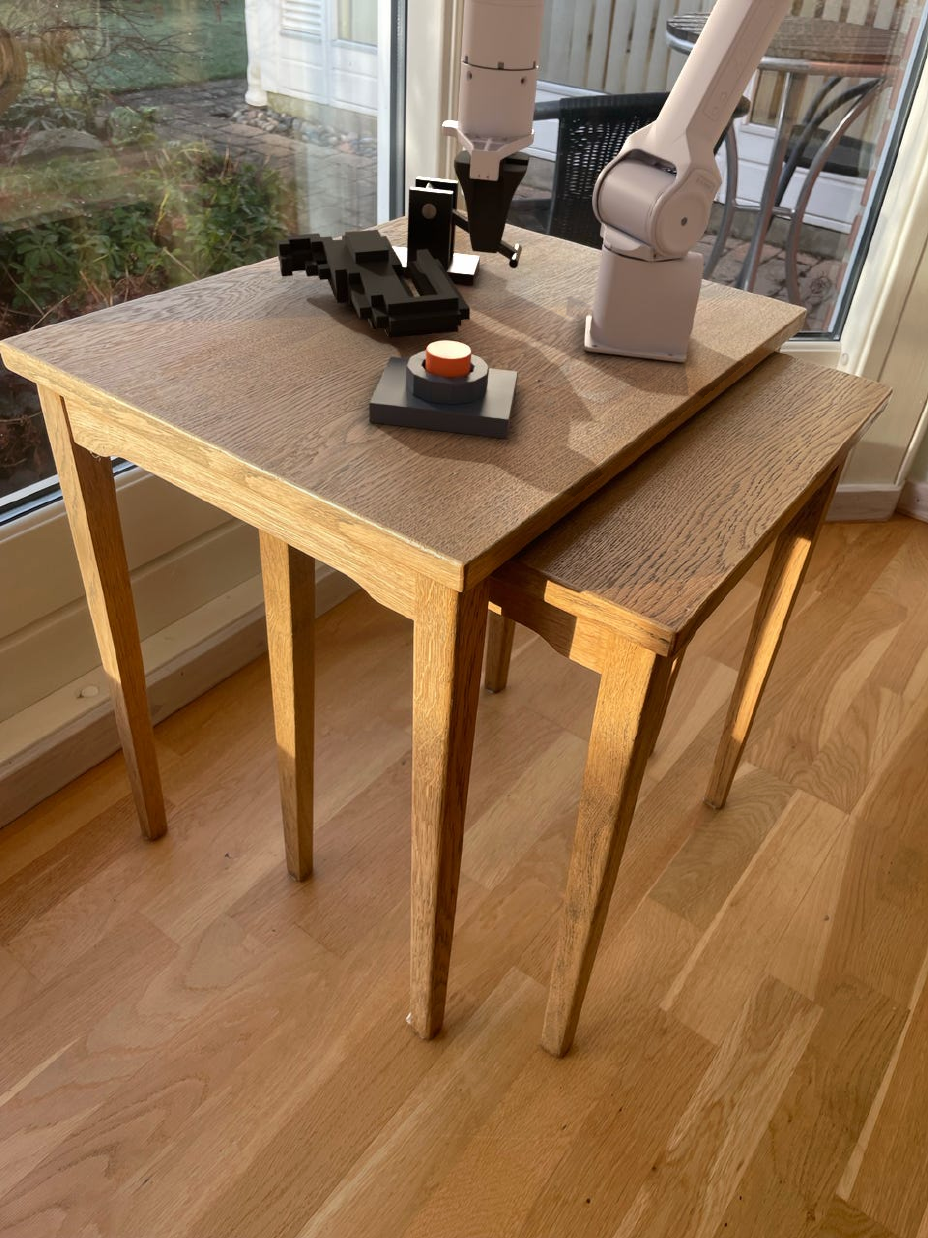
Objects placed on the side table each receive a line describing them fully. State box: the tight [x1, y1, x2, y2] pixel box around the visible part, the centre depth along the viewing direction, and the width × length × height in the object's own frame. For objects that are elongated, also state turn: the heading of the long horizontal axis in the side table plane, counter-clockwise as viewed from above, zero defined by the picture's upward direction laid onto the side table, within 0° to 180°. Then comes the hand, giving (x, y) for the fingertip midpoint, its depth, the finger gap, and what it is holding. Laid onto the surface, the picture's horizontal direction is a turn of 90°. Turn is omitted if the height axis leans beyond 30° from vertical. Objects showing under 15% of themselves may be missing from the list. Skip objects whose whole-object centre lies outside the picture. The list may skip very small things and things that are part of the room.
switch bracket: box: [392, 176, 481, 287], centre depth 103 cm, size 10×6×9 cm, turn 83°
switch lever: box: [426, 183, 523, 269], centre depth 103 cm, size 12×5×2 cm, turn 83°
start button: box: [425, 340, 473, 378], centre depth 79 cm, size 4×4×2 cm
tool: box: [276, 229, 471, 339], centre depth 94 cm, size 5×20×15 cm
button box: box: [368, 350, 519, 440], centre depth 80 cm, size 11×9×4 cm
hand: (485, 249), depth 81 cm, fingers closed
